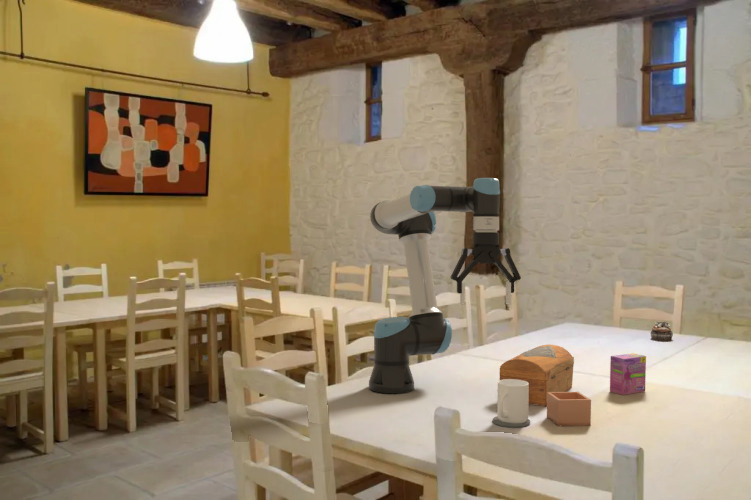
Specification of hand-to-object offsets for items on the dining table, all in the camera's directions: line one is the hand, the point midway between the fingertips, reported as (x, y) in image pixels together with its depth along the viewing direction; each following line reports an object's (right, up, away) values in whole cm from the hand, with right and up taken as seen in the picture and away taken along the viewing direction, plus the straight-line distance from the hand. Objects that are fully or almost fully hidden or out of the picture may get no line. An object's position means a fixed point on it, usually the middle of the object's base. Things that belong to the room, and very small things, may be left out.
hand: (485, 304), depth 200 cm
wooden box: (+20, -31, +21) cm, 42 cm away
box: (+50, -30, +23) cm, 63 cm away
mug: (+4, -31, -14) cm, 34 cm away
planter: (+21, -31, -11) cm, 39 cm away
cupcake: (+100, -28, +117) cm, 157 cm away
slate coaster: (+5, -31, -13) cm, 34 cm away
